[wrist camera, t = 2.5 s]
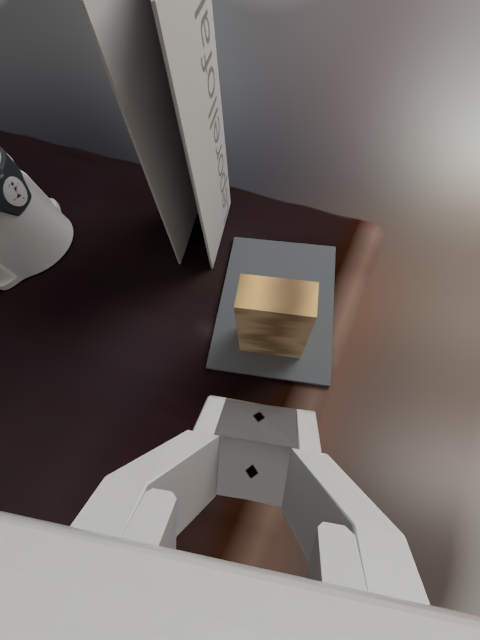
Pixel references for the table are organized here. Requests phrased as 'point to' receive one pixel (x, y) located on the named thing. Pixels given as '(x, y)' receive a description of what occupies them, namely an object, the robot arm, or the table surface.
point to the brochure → (170, 106)
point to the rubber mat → (281, 264)
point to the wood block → (275, 314)
